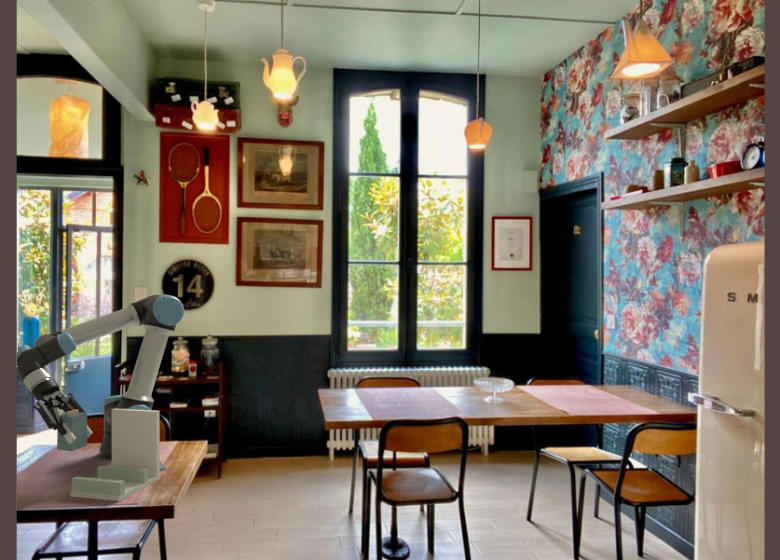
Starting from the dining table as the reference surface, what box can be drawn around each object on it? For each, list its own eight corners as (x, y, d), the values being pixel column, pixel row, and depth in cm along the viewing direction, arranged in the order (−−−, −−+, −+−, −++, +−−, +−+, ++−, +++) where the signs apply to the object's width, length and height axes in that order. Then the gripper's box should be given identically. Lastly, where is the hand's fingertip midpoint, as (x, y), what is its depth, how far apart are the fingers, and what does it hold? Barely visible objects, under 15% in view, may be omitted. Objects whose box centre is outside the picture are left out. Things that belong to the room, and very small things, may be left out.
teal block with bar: (72, 444, 185) (72, 407, 185) (86, 445, 184) (87, 409, 184) (57, 449, 180) (57, 412, 180) (72, 451, 178) (72, 413, 178)
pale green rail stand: (115, 475, 194) (115, 408, 194) (160, 478, 190) (159, 410, 190) (70, 496, 175) (70, 422, 175) (119, 501, 171) (118, 425, 171)
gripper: (59, 387, 195) (97, 437, 191) (9, 398, 177) (49, 454, 172) (72, 373, 193) (110, 423, 189) (22, 383, 175) (63, 439, 171)
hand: (81, 438), depth 181 cm, fingers closed on teal block with bar, 6 cm apart
